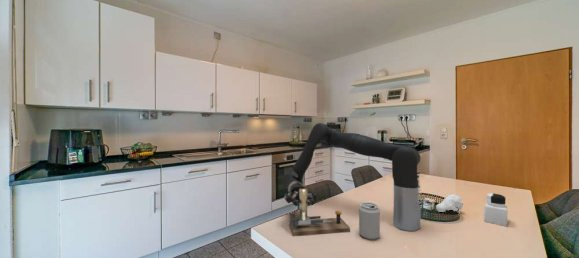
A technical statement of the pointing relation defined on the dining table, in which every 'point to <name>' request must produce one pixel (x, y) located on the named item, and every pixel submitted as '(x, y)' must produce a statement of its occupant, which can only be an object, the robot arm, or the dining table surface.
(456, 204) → the white cloth bundle
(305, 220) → the slider
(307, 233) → the track
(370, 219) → the can
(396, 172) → the robot arm
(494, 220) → the medicine bottle
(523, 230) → the dining table surface
